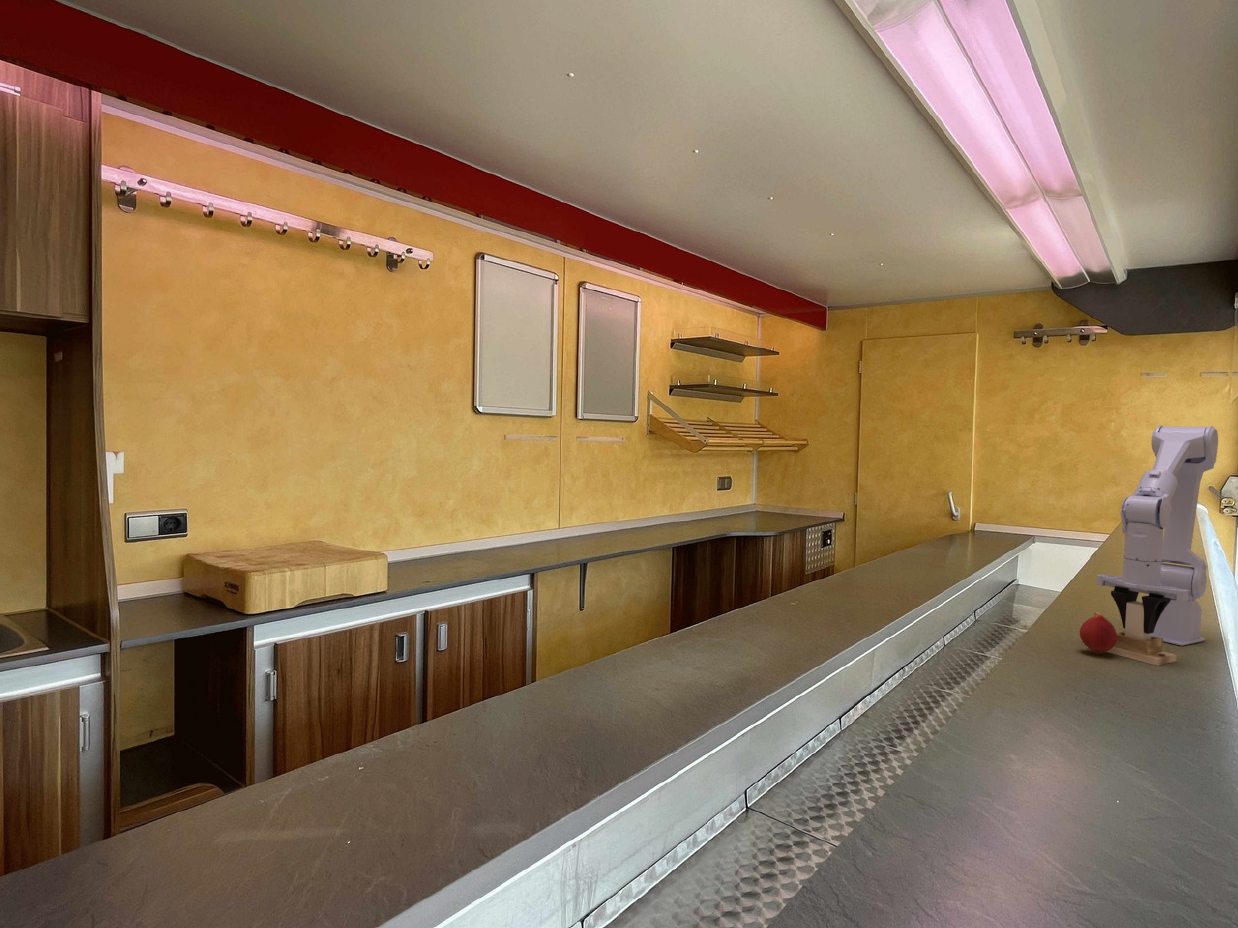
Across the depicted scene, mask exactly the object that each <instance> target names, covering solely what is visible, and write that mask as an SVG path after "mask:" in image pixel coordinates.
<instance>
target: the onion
mask: <svg viewBox="0 0 1238 928" xmlns="http://www.w3.org/2000/svg"><path fill="white" fill-rule="evenodd" d="M1093 614H1094V616H1093V617H1090V618H1089V619H1087V620H1085V621H1084V622H1083V623H1082V625H1081V626H1080V629H1079V637H1080V640H1081V641H1082V643H1083V644H1084V645H1085V647H1087V648H1088V649H1090V650H1091V652H1092V653H1093V654H1095V655H1101V654H1103V653H1107V652H1106V651H1108V650H1110V649H1111V648H1113V647H1114V646H1115V644H1116V642H1117V633H1118V632H1117V630H1116V628H1115V626H1114V625H1113V624H1112V623H1111V622H1110V621H1109V620H1108V619H1107V618H1105V617H1104V616H1103V615H1102V614H1101V612H1097V611H1096V612H1094V613H1093Z"/></svg>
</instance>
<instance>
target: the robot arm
mask: <svg viewBox="0 0 1238 928" xmlns="http://www.w3.org/2000/svg"><path fill="white" fill-rule="evenodd" d="M1218 449H1219V433H1218V430H1217V429H1216V428H1215V427H1214V426H1213V425H1208V426H1163V425H1158V426H1156V428H1154V429H1153V431H1152V435H1151V450H1152V452H1153V454H1154V456H1155V460H1154V464H1153V467H1152V469H1149V470H1147V471H1145V472H1144V473H1143V474H1142V476H1141V477H1140V480H1139V482H1138V484H1137V485H1136V488H1135V490H1134V492H1133V494H1132V495H1129V497H1124V498H1123V500H1122V503H1121V508H1120V517H1121V523H1122V529H1121V530H1122V533H1123V534H1124V545H1123V546H1124V547H1123V561H1122V562H1123V563H1122V565H1123V566H1122V576H1114V575H1107V574H1098V575H1097V576H1096V585H1097V586H1101V587H1102V586H1103V587H1104V586H1105V587H1110V588H1114V589H1113V590H1111V591H1110V595H1111V597H1112V599H1113V601H1114V603H1115V605H1116V607H1117V609H1118V611H1119V616H1120V619H1121V623H1122V628H1123V629H1125V621H1126V605H1127V602H1133V601H1137V599H1138V598H1139V597H1138V596H1139V593H1141V594H1146V595H1143V596H1141V602H1142V603H1143V608H1144V633H1146V634H1150V633H1151V636H1154V637H1158V638H1162V639H1163V643H1164V642H1165V643H1170V644H1173V645H1178V646H1186V645H1190V644H1196V643H1200V642H1204V641H1206V638H1205V637H1201V626H1202V625H1201V624H1202V607H1201V604H1200V602H1198V601H1197V599H1200V598H1201V597H1203V596H1204V595H1205V592H1206V588H1207V581H1208V580H1207V579H1208V577H1207V565H1206V562H1205V561H1204V560H1203V559H1202V558H1201V557H1200V556H1199V555H1197V554H1196V553H1194V551H1193V550H1192V545H1193V538H1194V531H1195V530H1194V529H1195V522H1196V516H1197V515H1196V514H1197V509H1198V500H1199V493H1200V486H1201V481H1202V478H1203V476H1204V473H1205V472H1207V471H1210V470H1213V469H1214V468H1215V464H1216V461H1217V456H1218V455H1217V454H1218Z"/></svg>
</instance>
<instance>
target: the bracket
mask: <svg viewBox="0 0 1238 928" xmlns="http://www.w3.org/2000/svg"><path fill="white" fill-rule="evenodd" d="M1116 633H1117V642H1116V644H1115V646H1114V647H1113V648H1111V649H1110V650H1108V651H1106V652H1105V653H1109V654H1113V655H1117V656H1120V657H1124V658H1128V659H1131V660H1135V661H1137V662H1141V663H1142V662H1143V663H1146V664H1149V665H1154V666H1156V667H1157V666H1162V665H1166V664H1169V663H1170V664H1171V663H1175V662H1177V654H1174V653H1170V652H1166V651H1163V645H1164V641H1163V639H1162V638H1158V637H1154V636H1151V640H1146V641H1143V640H1139V639H1135V638H1131V637H1127V636H1125V631H1121V632H1116Z"/></svg>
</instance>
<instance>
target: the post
mask: <svg viewBox="0 0 1238 928" xmlns="http://www.w3.org/2000/svg"><path fill="white" fill-rule="evenodd" d="M1124 632H1125V636H1127V637H1131V638H1135V639H1139V640H1143V641H1146V640H1151V633H1150V634H1146V633H1144V608H1143V602H1142V601H1137V600H1136V601H1133V602H1127V605H1126V621H1125V628H1124Z"/></svg>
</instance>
